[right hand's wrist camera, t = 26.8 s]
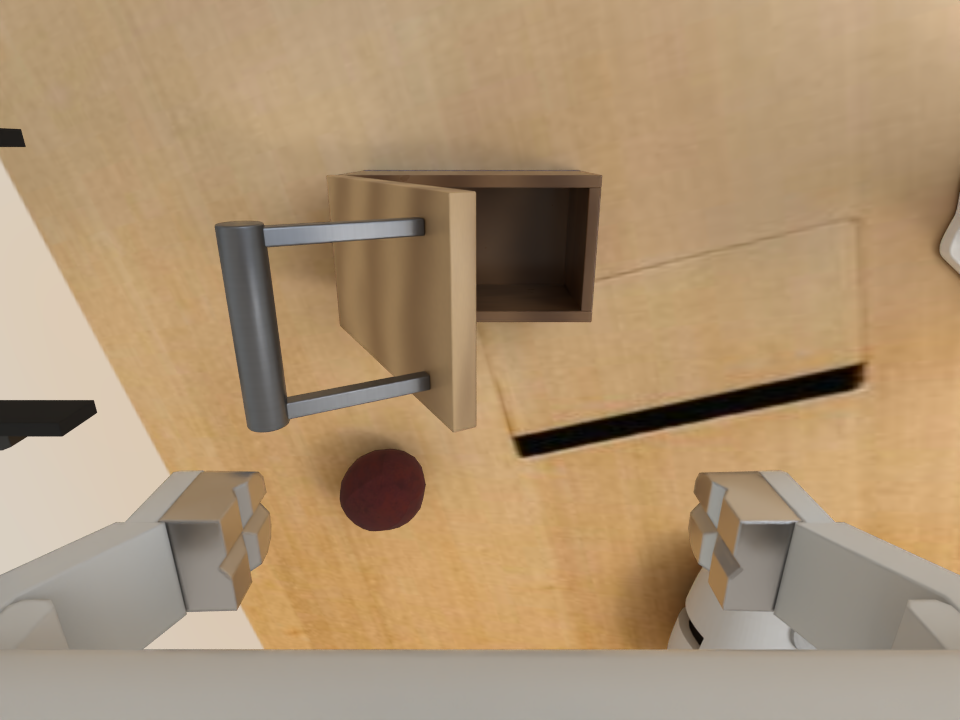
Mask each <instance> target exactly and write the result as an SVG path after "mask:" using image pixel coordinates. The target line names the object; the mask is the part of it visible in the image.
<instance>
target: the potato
mask: <svg viewBox="0 0 960 720" xmlns="http://www.w3.org/2000/svg"><path fill="white" fill-rule="evenodd" d="M425 485H426V484H425V479H424V475H423V471H422V467H421V465H420V464H419V463H418V461H417V460H416V459H415V457H413V456H411V455H410V454H408V453H406V452H404V451H400V450H395V449H385V450H375V451H373V452H370V453H368V454H366V455H364V456H361V457H360V458H358V459H357V460H356V461H355V462H354V463H353V464H352V465H351V467H350V468H349V469H348V471H347V472H346V474H345V476H344V478H343V480H342V482H341V490H340V502H341V507H342V509H343V511H344V512H345V514H346V515H347V517H348V518H349V519H350V520H351V521H352V522H353V523H354V524H356V525H357V526H359V527H361V528H363V529H366V530H369V531H383V530H391V529H395V528H398V527H400V526H402V525H404V524H406V523H408V522H409V521H410V520H411V519H412V518H413V517H414V516H415V515H416V513H417V512H418V511H419V510H420V508H421V504H422V501H423V496H424V491H425Z"/></svg>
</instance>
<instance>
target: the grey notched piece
mask: <svg viewBox="0 0 960 720" xmlns="http://www.w3.org/2000/svg"><path fill="white" fill-rule="evenodd" d="M709 572H710V571H708V570H707V569H705V568H704V567H702V569H701V570H700V572H699V573H698V575H697V577H696V579H695V581H694V583H693V585H692V587H691V589H690V591H689V593H688V595H687V598H686V603H685V605H686V607H684V608H683V609H682V610H681V612H680V613H679V616H678V618H677V620H676V623H675V625H674V628H673V630H672V633H671V636H670V639H669V642H668V647H667V649H816V648H815V647H814V646H813V645H811V644H810V643H809V642H808V641H806V640H805V639H804V638H803V637H801V636H800V635H799V634H798V633H796V632H795V631H794V630H793V629H791V628H790V627H789V626H788V625H786V624H785V623H784V622H782V621H781V620H780V619H779V618H777V617H776V616H775V615H774V614H773V613H774V612H759V611H723V609H722V607H721V605H720V604H719V602H718V600H717V598H716V596H715V594H714V592H713V591H712V589H711V587H710V585H709V583H708V578H709Z"/></svg>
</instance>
